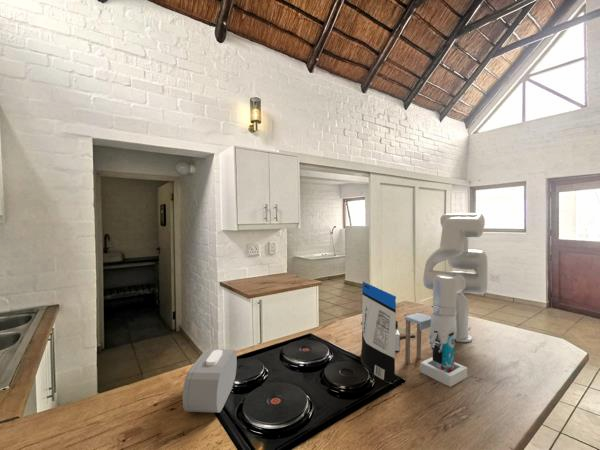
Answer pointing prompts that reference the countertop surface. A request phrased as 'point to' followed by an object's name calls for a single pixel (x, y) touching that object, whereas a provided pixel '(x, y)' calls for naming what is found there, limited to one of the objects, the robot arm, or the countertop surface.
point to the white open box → (429, 365)
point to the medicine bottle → (397, 338)
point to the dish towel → (403, 333)
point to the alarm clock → (209, 381)
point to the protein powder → (378, 332)
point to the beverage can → (447, 355)
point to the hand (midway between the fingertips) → (443, 358)
